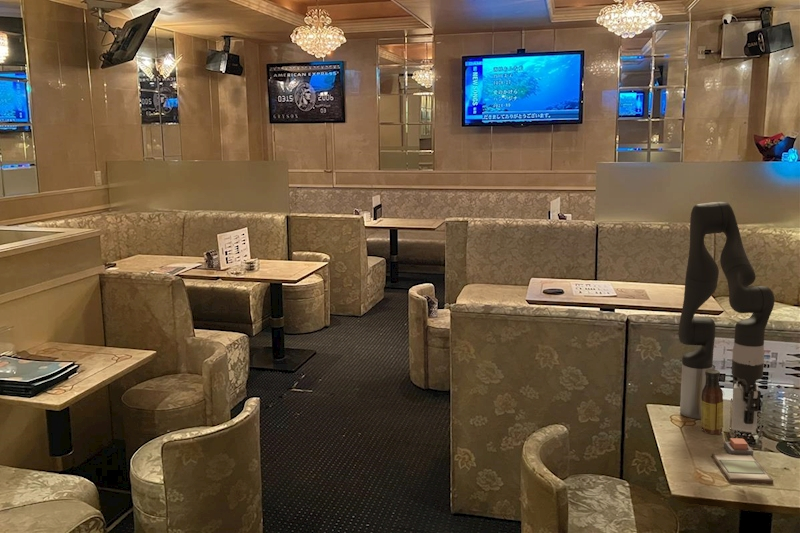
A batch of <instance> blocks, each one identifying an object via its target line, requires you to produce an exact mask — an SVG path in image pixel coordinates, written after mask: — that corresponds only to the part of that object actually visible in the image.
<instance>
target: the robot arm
mask: <svg viewBox="0 0 800 533" xmlns="http://www.w3.org/2000/svg"><path fill="white" fill-rule="evenodd" d="M721 233H723V234H724V235H725V239H726V241H725V243H724V245H723V248H722V251H721V254H720V258H719V261H720V266H721V270H722V271H723V274H724V276H725V279H726V280H727V285H728V301H729V306H730V308H731V309H732V310H733V311H735V312H736V313H738V314H751V315H750V317H749V318H745V319H741V320H739V321H737V322H736V323H735V326H734V340H733V341H734V342H733V348H732V360H731V374H732V388H733V387H734V384H736V385H737V386H740V390H741V397H742V401H743V402H744V409H745V410H744V423H745V424H753V420H754V411H757V412H759V409H760V402H761V394H762V392H761V390H758V391H756V390H757V386H758V385H757V383H756V382H757V381H759V380H762V379H763V376H764V364H765V363H764V361H765V345H764V344H765V331H766V328H767V325H768V322H769V320H770V317H771V314H772V312H773V309H774V308H775V307H774V306H775V295H774V292H773V291H772V289H771V288H770V287H769V286H764V285H756V286H753V285H752V284H753V283H755V280H756V277H757V276H756V273H755V271H754V268H753V266H752V264H751V262H750V260H749V257H748V256H747V253H746V251H745V248H744V244H743V241H742V237H741V233H740V229H739V225H738V222H737V219H736V215H735V212H734V210H733V207H732V205H731V204H730V203H729V202H726V201H713V202H706V203H705V202H703V203H698V204H695V205H693V207H692V209H691V213H690V222H689V249H688V250H689V251H688V259H687V263H686V264H687V265H686V271H685V282H684V294H683V297H684V298H683V302H682V308H681V314H680V319H679V323H678V332H677V333H678V335H677V336H678V339H679V342H680V343H681V344H683V345H685V346H700V347H698V349H696V350H692V351H690V352H686V353H684V354H683V355H682V358H681V379H680V380H681V381H680V382H681V384H680V404H679V412H680V414H681V415H682V416H684V417H687V418H690V419H696V420H697V419H699V420H701V396H702V391H703V389H704V387H705V384H706V375H705V372H706V370H708V369H713V364H714V363H713V362H714V359H713V358H714V348H715V347H714V346H715V339H716V323H715V320H714V319H713V318H712V317H701V316H699V317H697V316H695V314H696V313H697V311H699V308H701V306H703V305H704V304H705V303H706V302H707V301H708V300H709V299H710V298H711V297H712V296H713V295H714V293H715V292H716V291H717V287H718V280H719V275H720V270H719V266H718V264H717V262H716V260H715V259H714V258H713V256H712V255H711V253H710V251H709V250H708V249H707V247H706V244H705V236H706V235H711V234H712V235H713V234H721ZM745 397H749V398H748V399H746V398H745ZM747 402H748V404H747ZM751 404H752V406H751Z"/></svg>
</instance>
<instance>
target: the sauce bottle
mask: <svg viewBox="0 0 800 533" xmlns="http://www.w3.org/2000/svg"><path fill="white" fill-rule="evenodd" d="M720 372H721V371H720V370H718V369H713V368H712V369H708V370H706V372H705V375H706V384H705V387H704V389H703V391H702V396H701V419H700V426H701V430H702V432H704V433H706V434H710V435H719V434H722V433H723V427H724V392H723V390H722V387H721V386H720V375H721V373H720Z"/></svg>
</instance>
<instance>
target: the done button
mask: <svg viewBox="0 0 800 533" xmlns="http://www.w3.org/2000/svg"><path fill="white" fill-rule="evenodd" d="M729 442H730V445H731V447H732V448H733V449H742V450H747V448H748V445H749V444H748V443H747V441H746V440H745V439H744V438H737V437H735V438H734V437H732V438H731V437H730V438H729Z"/></svg>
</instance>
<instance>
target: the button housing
mask: <svg viewBox="0 0 800 533" xmlns="http://www.w3.org/2000/svg"><path fill="white" fill-rule="evenodd" d="M723 449H724V450H725V451H726V453H727V454H735V455H752V456H753V457H754V450H753V449H752V448H751V446H749V444H748V448H747V450H742V449H733V448H732V447H731V445H730V441H724V442H723Z"/></svg>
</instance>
